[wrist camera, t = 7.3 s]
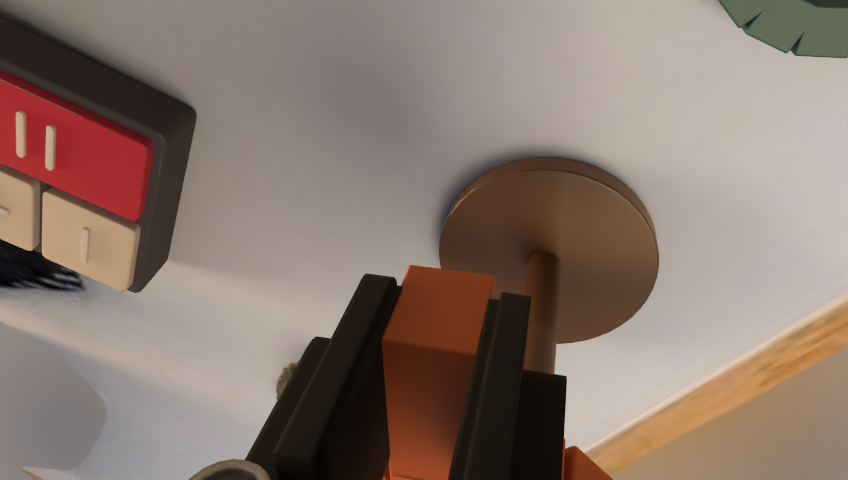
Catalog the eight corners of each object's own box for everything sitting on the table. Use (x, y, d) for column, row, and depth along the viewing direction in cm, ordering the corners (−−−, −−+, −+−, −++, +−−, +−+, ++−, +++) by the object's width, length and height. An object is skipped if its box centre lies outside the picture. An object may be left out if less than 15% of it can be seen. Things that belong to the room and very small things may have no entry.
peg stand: (443, 147, 27) (358, 333, 17) (679, 167, 25) (736, 391, 15) (443, 314, 32) (379, 525, 23) (634, 341, 31) (654, 585, 21)
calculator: (131, 306, 32) (-148, 186, 31) (172, 257, 36) (-77, 147, 34) (158, 145, 26) (-196, -19, 24) (205, 104, 29) (-102, -41, 27)
